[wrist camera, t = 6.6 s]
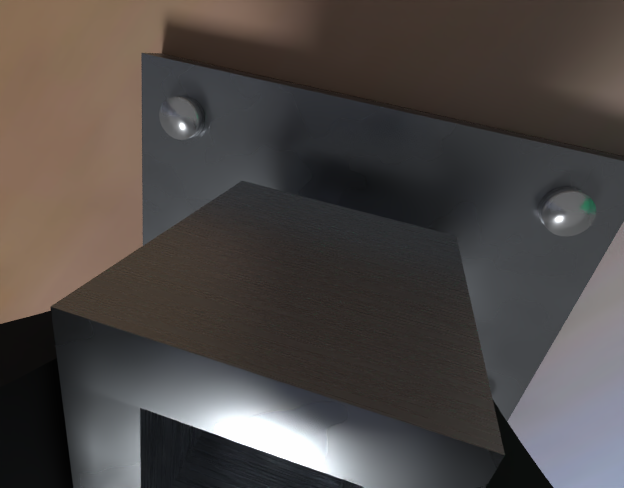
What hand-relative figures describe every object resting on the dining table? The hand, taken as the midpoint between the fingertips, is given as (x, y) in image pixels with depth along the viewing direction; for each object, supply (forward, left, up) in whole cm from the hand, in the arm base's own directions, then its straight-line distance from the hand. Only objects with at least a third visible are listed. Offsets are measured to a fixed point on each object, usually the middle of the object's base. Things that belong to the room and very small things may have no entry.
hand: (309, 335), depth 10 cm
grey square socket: (0, 0, -2) cm, 2 cm away
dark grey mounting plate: (0, 0, -5) cm, 5 cm away
